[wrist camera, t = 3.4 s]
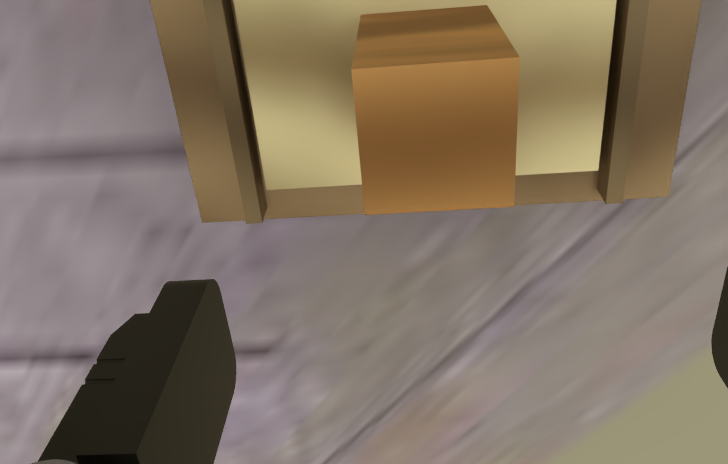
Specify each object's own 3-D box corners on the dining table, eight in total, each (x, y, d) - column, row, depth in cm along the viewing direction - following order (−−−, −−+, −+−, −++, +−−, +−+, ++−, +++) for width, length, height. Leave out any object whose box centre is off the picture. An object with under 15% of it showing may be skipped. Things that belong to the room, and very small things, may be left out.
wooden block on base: (231, -46, 21) (169, -5, 15) (616, -79, 20) (710, -48, 14) (269, 180, 25) (233, 282, 19) (592, 161, 24) (658, 262, 18)
